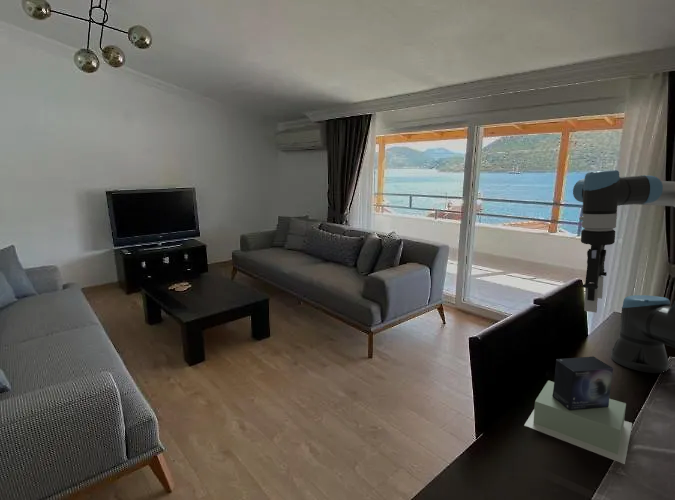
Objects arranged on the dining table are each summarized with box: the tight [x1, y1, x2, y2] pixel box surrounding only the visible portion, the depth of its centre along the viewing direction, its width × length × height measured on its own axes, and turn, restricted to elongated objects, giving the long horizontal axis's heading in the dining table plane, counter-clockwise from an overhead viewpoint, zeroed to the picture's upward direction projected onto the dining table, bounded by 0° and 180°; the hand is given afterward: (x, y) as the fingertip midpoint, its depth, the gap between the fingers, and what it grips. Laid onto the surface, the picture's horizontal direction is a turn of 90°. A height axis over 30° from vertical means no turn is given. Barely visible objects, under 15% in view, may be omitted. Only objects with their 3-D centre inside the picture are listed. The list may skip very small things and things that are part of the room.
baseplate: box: [523, 409, 633, 465], centre depth 91 cm, size 18×20×1 cm
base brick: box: [533, 380, 627, 454], centre depth 91 cm, size 13×17×6 cm
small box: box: [552, 355, 614, 410], centre depth 89 cm, size 11×6×10 cm, turn 96°
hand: (593, 304), depth 102 cm, fingers open, 13 cm apart
